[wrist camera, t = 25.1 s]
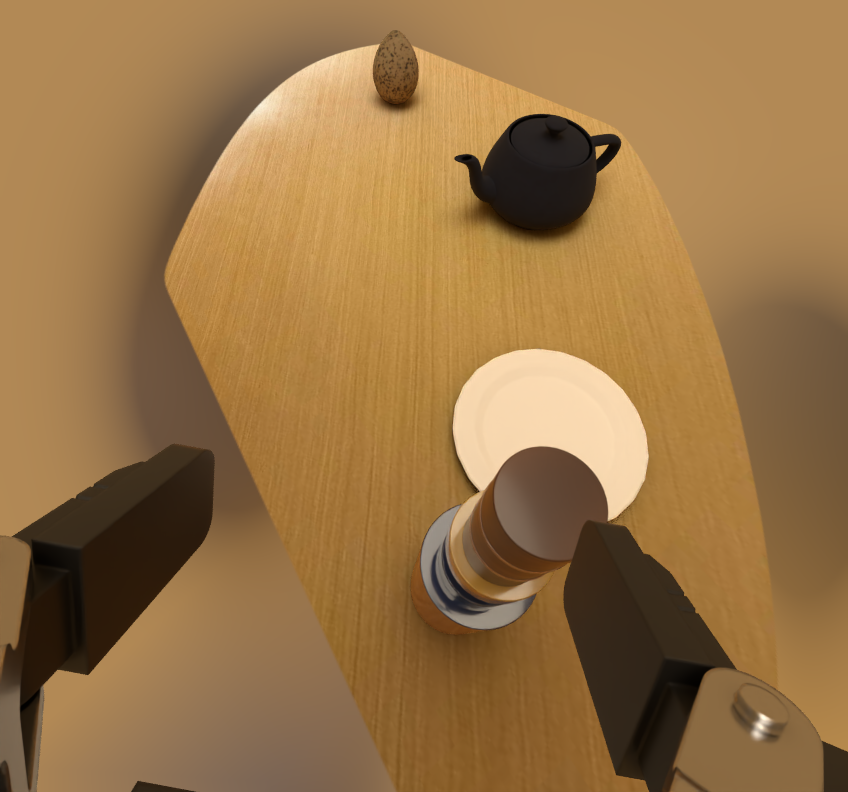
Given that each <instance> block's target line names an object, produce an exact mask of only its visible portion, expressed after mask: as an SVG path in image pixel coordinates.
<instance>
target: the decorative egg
mask: <svg viewBox="0 0 848 792" xmlns="http://www.w3.org/2000/svg"><path fill="white" fill-rule="evenodd" d="M373 79H374V83H375V86H376V89H377V91H378V93H379V94H380V95H381V97H382V98H383V99H384V100H386V101H387V102H389V103H392V104H400V103H403V102H405V101H406V100H408V99H409V98H410V97H411V95H412V94H413V93H414V91H415V89H416V86H417V82H418V62H417V58H416V55H415V52H414V50H413V48H412V46H411V44H410V42H409V41H408V39H407V38H406V37H405V36H404V35H403V34H402V33H401V32H400V31H397V30H394V31H392V32H390V33H389V34H388V35H387V36H386V37H385V38H384V40H383V41H382V42H381V44H380V46H379V48H378V50H377V52H376V55H375V59H374V64H373Z"/></svg>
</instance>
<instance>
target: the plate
mask: <svg viewBox="0 0 848 792" xmlns="http://www.w3.org/2000/svg"><path fill="white" fill-rule="evenodd" d="M452 431H453V436H454V441H455V447H456V452H457V456H458V458H459V460H460V462H461V464H462V466H463V468H464V470H465V472H466V475H467V477H468V479H469V480H470V481H471V482H472V483H473V485H474V486H475V487H476V488H477V489H478V491H479V492H480V491H483V490H485V489H486V487H487V486H488V484H489V483H490V482H491V481H492V480H493V478H494V477H495V475H496V474H497V472H498V471H499V469H500V468H501V466H502V465H503V464H504V462H505V461H506V460H507V459H508V458H510V457H511V456H512V455H514V454H515V453H517V452H519V451H521V450H524V449H526V448H531V447H538V446H547V447H554V448H558V449H561V450H564V451H567V452H569V453H571V454H573V455H574V456H576V457H578V458H579V459H580V460H582V461H583V462H584V463H585V464H586V465H588V466H589V468H590V469H591V470H592V471H593V472H594V473H595V475H596V476H597V478H598V479H599V481H600V483H601V484H602V487H603V489H604V491H605V495H606V498H607V503H608V521H609V520H612V519H614V518H616V517H617V516H618V515H619V514H620V513H621V512H622V511H623V510H624V509H625V508H627V507H628V506H629V505H630V504H631V503H632V502H633V501H634V499H635V497H636V495H637V493H638V492H639V490H640V488H641V486H642V484H643V482H644V480H645V475H646V469H647V464H648V458H649V455H648V447H647V438H646V432H645V429H644V427H643V424H642V422H641V419H640V417H639V414H638V411H637V410H636V408H635V407H634V405H633V404H632V402H631V401H630V399H629V398H628V396H627V395H626V394H625V392H624V391H623V389H621V388H620V387H619V386H618V385H617V384H616V383H615V382H614V381H613V380H612V379H611V378H610V377H609V376H608V375H607V374H605V373H604V372H602V371H601V370H599V369H598V368H596V367H594V366H593V365H591V364H589V363H588V362H586V361H585V360H582V359H579V358H577V357H574V356H571V355H568V354H566V353H563V352H558V351H551V350H543V349H530V350H518V351H513V352H510V353H507V354H504V355H501V356H498V357H495V358H494V359H492V360H491V361H489V362H488V363H486V364H485V365H483V366H482V367H480V368H479V369H477V370H476V371H475V373H474V374H473V375H472V376H471V378H470V379H469V380H468V381H467V382H466V384H465V385H464V386H463V388H462V391H461V393H460V395H459V398H458V400H457V403H456V405H455V410H454V420H453V430H452Z"/></svg>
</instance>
